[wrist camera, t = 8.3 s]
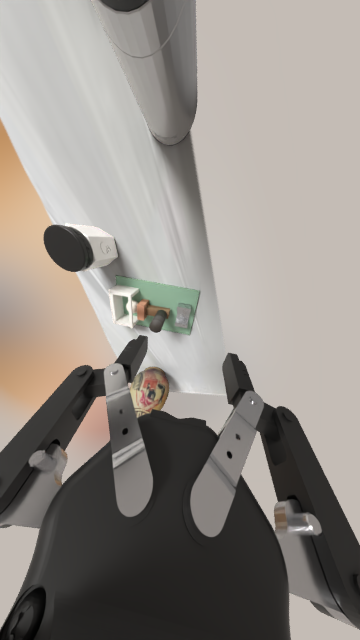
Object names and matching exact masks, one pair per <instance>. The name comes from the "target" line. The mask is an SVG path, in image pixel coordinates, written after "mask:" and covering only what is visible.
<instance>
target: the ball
mask: <svg viewBox="0 0 360 640" xmlns="http://www.w3.org/2000/svg"><path fill="white" fill-rule="evenodd" d="M137 304H138V302H137V301H134V300H132V310H133V313H137ZM126 309H127V311H128V312H129V306H128V303H127V305H126Z"/></svg>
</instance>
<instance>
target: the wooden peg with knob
mask: <svg viewBox="0 0 360 640" xmlns="http://www.w3.org/2000/svg"><path fill="white" fill-rule="evenodd" d="M148 315H150V316H154V318H153V320H152V321H151V323H150V325H149V328H150V330H151V331H153V332H156V333H157V332H160V331H161V329H162V327H163V324H164V322H165V320H166V319H168V318H169V316H170V308H165V307H159V306H154V305H149V300H146V299H142V300H141V301H140V302H139V303H138V304H137V319H138V320H142V321H144V320H145V319H146V317H147V316H148Z"/></svg>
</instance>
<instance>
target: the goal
mask: <svg viewBox="0 0 360 640" xmlns="http://www.w3.org/2000/svg"><path fill="white" fill-rule="evenodd" d="M108 291H109V297H110V304H111V311H112V318H113V323H114V324H119V325H124V326H129V327H130V328H133V327H134V326H135V325H136V323H137V322H138V321H139V320H138V319H137V316H133V310H132V297H133V296H134V295H136V294H137V293H138V292H139V288H134V287H128V286H123V285H116V286H115V287H113V288H111V289H109V290H108ZM122 296H125V297H128V306H129V315H128V314H124V310H123V299H122Z"/></svg>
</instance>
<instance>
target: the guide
mask: <svg viewBox="0 0 360 640" xmlns="http://www.w3.org/2000/svg"><path fill="white" fill-rule="evenodd" d="M191 306H192V305H190V304H184V303H178V306H177V316H176V321H175V326H177V327H183V328H187V326H188V320H189V315H190V312H191Z"/></svg>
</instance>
